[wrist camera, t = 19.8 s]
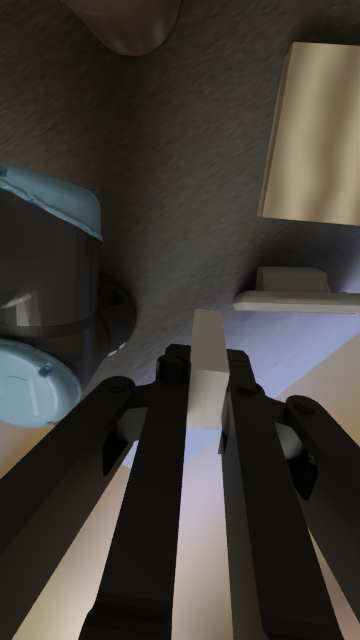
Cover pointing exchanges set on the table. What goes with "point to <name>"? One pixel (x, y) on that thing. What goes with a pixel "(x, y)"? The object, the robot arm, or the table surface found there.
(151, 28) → the plant pot
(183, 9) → the table surface
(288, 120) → the platform
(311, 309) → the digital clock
